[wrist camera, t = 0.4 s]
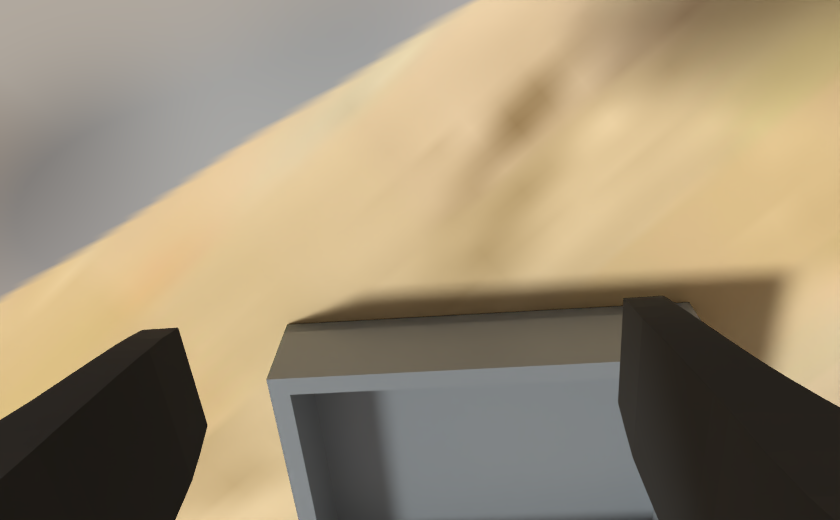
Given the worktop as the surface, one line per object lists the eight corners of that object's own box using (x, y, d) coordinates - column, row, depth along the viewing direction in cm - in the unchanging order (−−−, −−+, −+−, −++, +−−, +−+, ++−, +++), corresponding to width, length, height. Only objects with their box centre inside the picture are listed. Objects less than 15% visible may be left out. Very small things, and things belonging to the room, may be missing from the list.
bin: (662, 525, 26) (687, 594, 23) (330, 537, 27) (318, 605, 24) (689, 302, 21) (724, 356, 19) (287, 324, 22) (266, 379, 20)
